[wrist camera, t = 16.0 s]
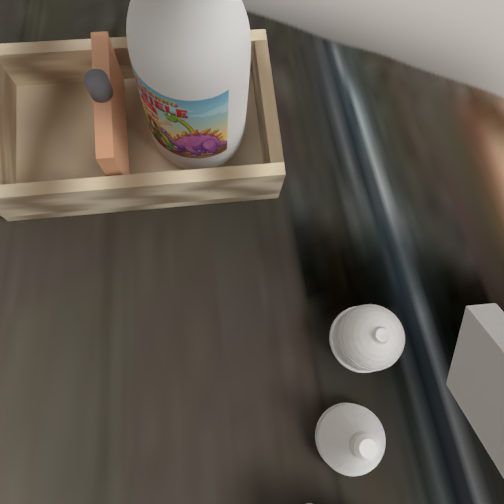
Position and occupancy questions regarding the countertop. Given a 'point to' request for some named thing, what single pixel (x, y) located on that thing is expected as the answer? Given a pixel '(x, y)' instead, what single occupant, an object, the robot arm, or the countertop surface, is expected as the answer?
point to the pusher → (108, 106)
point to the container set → (362, 361)
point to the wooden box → (138, 132)
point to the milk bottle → (192, 76)
